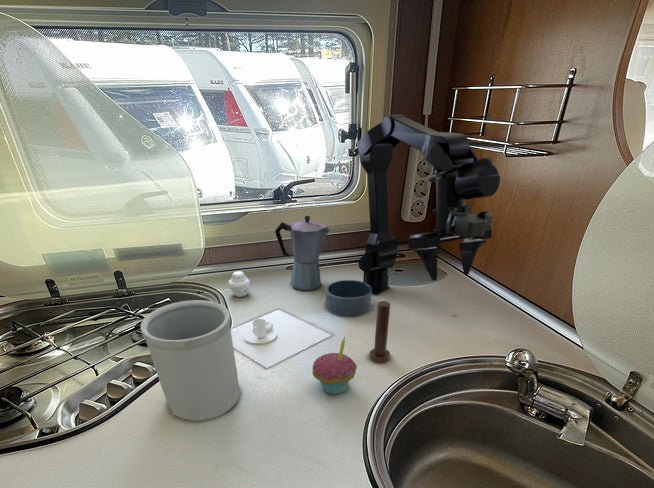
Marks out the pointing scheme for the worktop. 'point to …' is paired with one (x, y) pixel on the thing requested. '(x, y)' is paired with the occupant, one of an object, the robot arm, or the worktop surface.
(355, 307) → the bowl
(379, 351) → the brown flanged peg
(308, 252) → the moka pot
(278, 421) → the worktop surface
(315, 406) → the worktop surface
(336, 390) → the cupcake
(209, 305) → the utensil holder
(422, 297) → the worktop surface
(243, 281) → the white lidded jar
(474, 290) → the worktop surface
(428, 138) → the robot arm
